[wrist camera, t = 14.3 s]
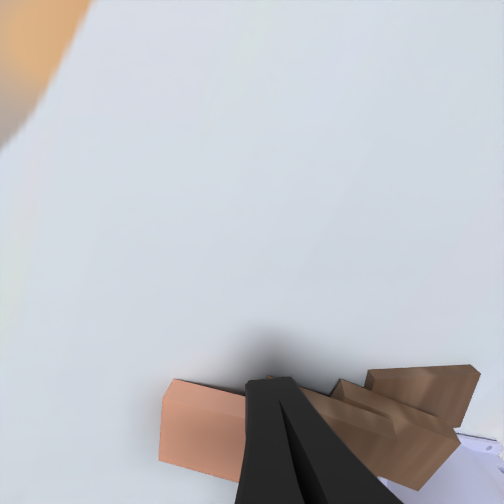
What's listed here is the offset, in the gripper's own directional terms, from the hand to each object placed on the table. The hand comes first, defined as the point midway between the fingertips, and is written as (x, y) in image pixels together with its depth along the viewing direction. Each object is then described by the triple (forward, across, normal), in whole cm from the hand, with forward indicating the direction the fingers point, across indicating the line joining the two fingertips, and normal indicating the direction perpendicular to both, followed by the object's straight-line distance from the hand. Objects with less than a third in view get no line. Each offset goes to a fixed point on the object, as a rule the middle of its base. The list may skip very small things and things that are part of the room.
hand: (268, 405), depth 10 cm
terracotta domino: (+9, +4, +10) cm, 14 cm away
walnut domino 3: (+8, -6, +10) cm, 15 cm away
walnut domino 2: (+9, -9, +10) cm, 17 cm away
